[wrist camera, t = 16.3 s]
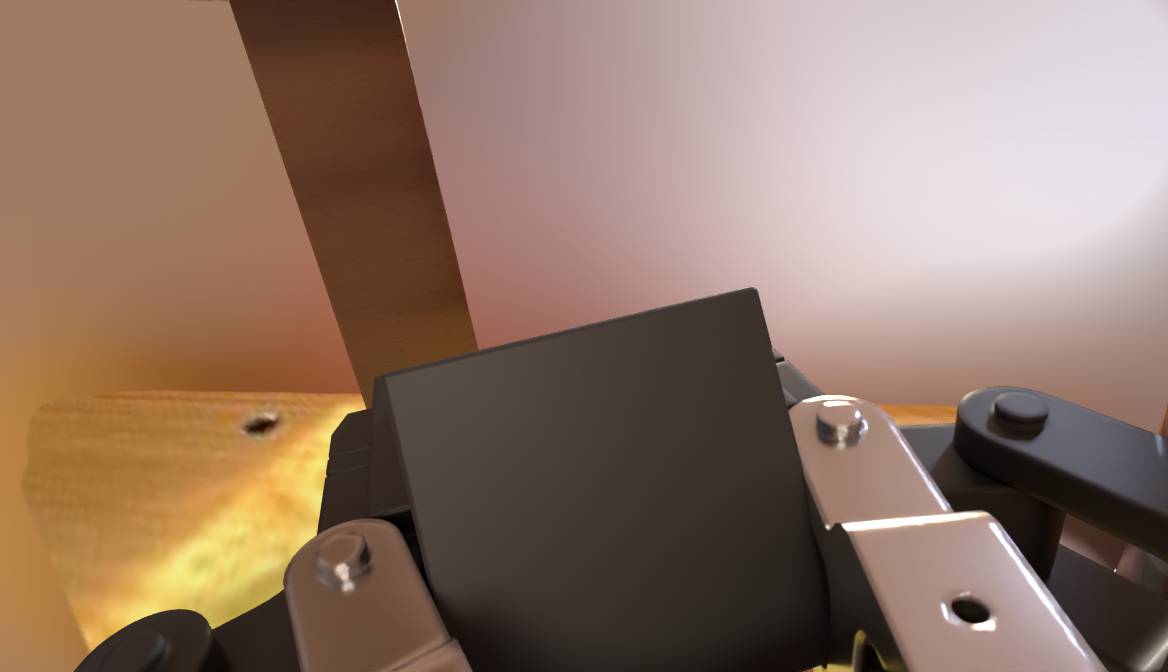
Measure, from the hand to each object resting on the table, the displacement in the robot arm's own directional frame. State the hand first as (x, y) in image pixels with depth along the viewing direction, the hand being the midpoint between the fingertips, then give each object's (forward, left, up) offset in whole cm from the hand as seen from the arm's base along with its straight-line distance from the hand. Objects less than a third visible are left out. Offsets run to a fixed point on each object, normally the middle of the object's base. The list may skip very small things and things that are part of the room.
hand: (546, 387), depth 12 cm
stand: (+18, -16, -22) cm, 32 cm away
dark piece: (+2, -2, -5) cm, 6 cm away
